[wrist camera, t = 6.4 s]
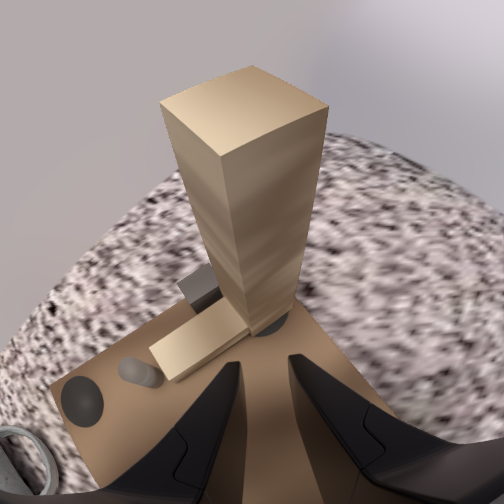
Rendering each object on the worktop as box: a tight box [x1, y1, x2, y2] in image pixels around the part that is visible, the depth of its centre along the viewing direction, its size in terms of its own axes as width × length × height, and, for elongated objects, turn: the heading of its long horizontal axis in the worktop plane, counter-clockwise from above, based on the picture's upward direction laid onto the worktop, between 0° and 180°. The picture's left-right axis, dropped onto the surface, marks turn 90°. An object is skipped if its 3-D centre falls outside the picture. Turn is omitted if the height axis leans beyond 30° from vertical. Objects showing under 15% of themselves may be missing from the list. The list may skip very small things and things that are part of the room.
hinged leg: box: [149, 66, 329, 383], centre depth 10 cm, size 7×3×12 cm, turn 127°
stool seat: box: [49, 263, 397, 504], centre depth 12 cm, size 17×16×4 cm
